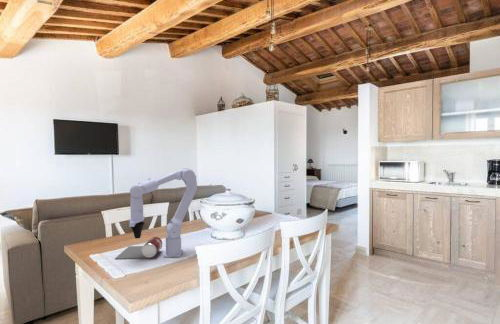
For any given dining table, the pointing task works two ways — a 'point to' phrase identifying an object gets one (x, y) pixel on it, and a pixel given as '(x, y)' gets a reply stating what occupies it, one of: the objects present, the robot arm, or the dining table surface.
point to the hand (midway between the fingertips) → (137, 237)
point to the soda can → (152, 247)
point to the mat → (132, 253)
